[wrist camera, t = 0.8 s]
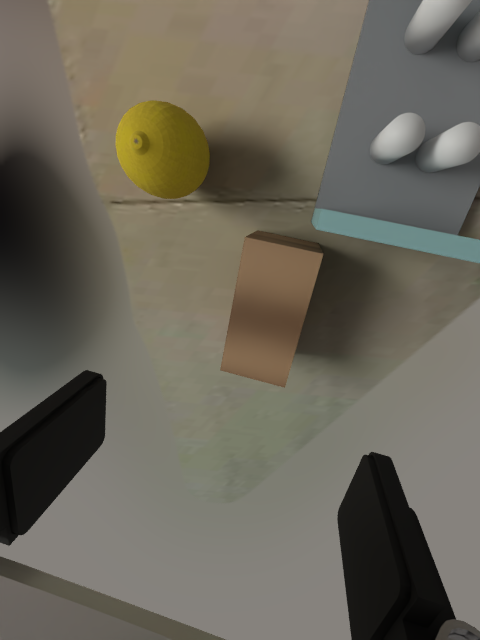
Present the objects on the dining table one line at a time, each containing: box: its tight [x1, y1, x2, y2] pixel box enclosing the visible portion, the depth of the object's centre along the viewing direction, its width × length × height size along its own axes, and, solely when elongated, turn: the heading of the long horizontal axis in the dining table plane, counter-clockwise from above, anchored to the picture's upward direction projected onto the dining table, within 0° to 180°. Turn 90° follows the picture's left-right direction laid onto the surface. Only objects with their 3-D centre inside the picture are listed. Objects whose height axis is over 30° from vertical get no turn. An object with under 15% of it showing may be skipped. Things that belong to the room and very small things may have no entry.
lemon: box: [116, 101, 210, 199], centre depth 20 cm, size 6×6×8 cm
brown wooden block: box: [220, 231, 323, 387], centre depth 23 cm, size 10×5×6 cm, turn 168°
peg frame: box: [311, 0, 480, 263], centre depth 15 cm, size 17×10×9 cm, turn 169°
